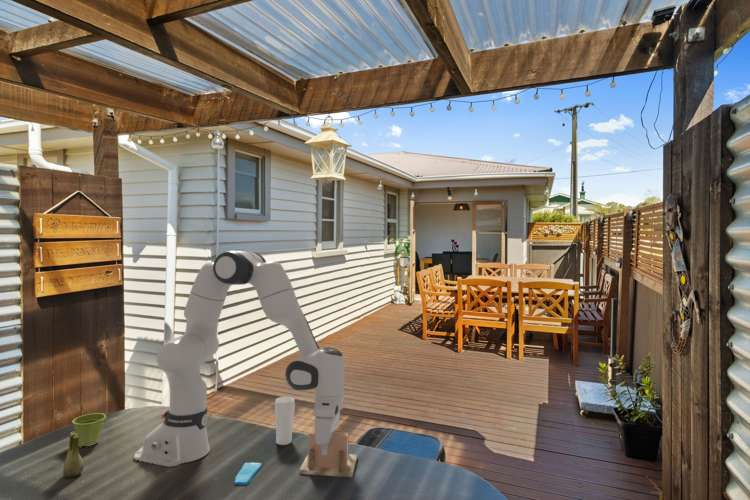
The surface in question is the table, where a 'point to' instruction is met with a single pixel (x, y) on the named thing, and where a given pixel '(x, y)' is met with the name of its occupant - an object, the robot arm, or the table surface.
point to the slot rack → (329, 471)
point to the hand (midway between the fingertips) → (328, 446)
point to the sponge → (247, 473)
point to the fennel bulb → (73, 458)
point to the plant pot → (89, 428)
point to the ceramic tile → (335, 445)
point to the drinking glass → (284, 419)
